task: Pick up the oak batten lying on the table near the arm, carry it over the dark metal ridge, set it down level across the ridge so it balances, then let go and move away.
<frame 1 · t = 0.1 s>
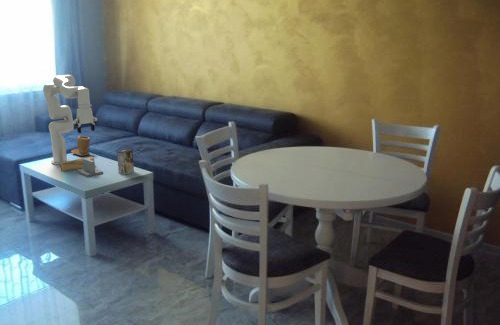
hand: (86, 131, 321), 31 cm above the table, tool pointing down, fingers open, 9 cm apart
oak batten: (78, 168, 347), on the table
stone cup: (82, 154, 383), on the table
ridge stand: (89, 172, 336), on the table
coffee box: (126, 172, 338), on the table
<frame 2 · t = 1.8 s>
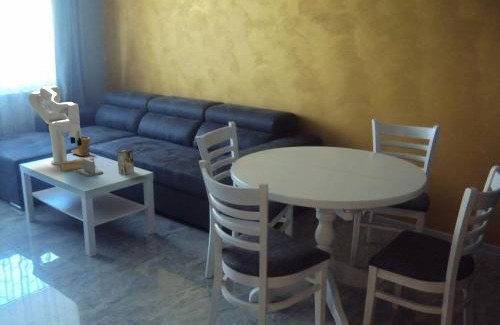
hand: (76, 144, 342), 18 cm above the table, tool pointing down, fingers open, 9 cm apart
nothing on the table moved.
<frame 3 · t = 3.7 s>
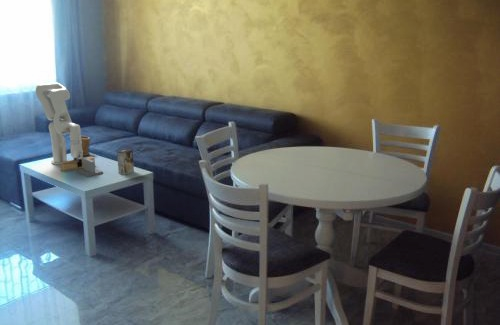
hand: (78, 165, 347), 2 cm above the table, tool pointing down, fingers closed on oak batten, 4 cm apart
oak batten: (78, 167, 347), on the table, touching gripper
everything else where it was.
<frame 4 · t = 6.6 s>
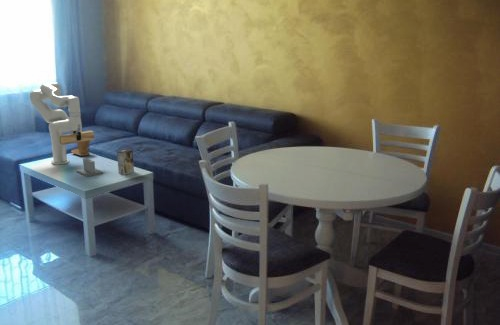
hand: (77, 139, 340), 22 cm above the table, tool pointing down, fingers closed on oak batten, 4 cm apart
oak batten: (77, 141, 340), point 20 cm above the table, touching gripper
everything else where it was.
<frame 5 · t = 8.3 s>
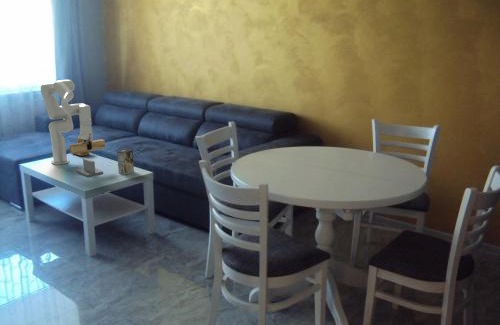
hand: (87, 148, 331), 18 cm above the table, tool pointing down, fingers closed on oak batten, 4 cm apart
oak batten: (88, 150, 331), point 16 cm above the table, touching gripper
everything else where it was.
when the fingers open (12 cm above the table, at t = 9.6 s): oak batten stays where it is, resting on ridge stand.
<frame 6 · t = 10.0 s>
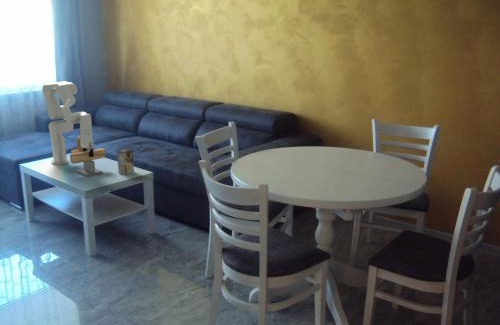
hand: (88, 155, 333), 13 cm above the table, tool pointing down, fingers open, 8 cm apart
oak batten: (88, 159, 333), point 9 cm above the table, touching ridge stand
everything else where it was.
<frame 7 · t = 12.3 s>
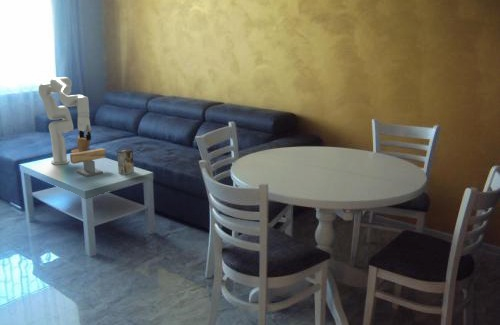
hand: (85, 138, 331), 24 cm above the table, tool pointing down, fingers open, 9 cm apart
nothing on the table moved.
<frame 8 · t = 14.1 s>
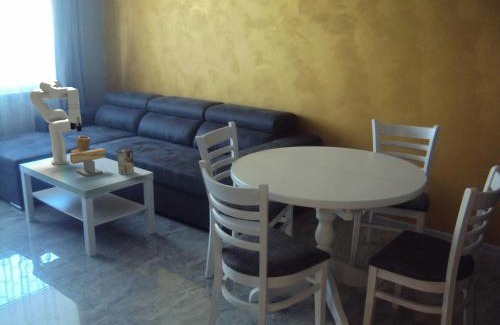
hand: (76, 130, 338), 28 cm above the table, tool pointing down, fingers open, 9 cm apart
nothing on the table moved.
at the end: oak batten 0.0 cm off-centre on the ridge stand, point 9.5 cm above the ridge stand's base; oak batten tilted 0°; the gripper is holding nothing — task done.
